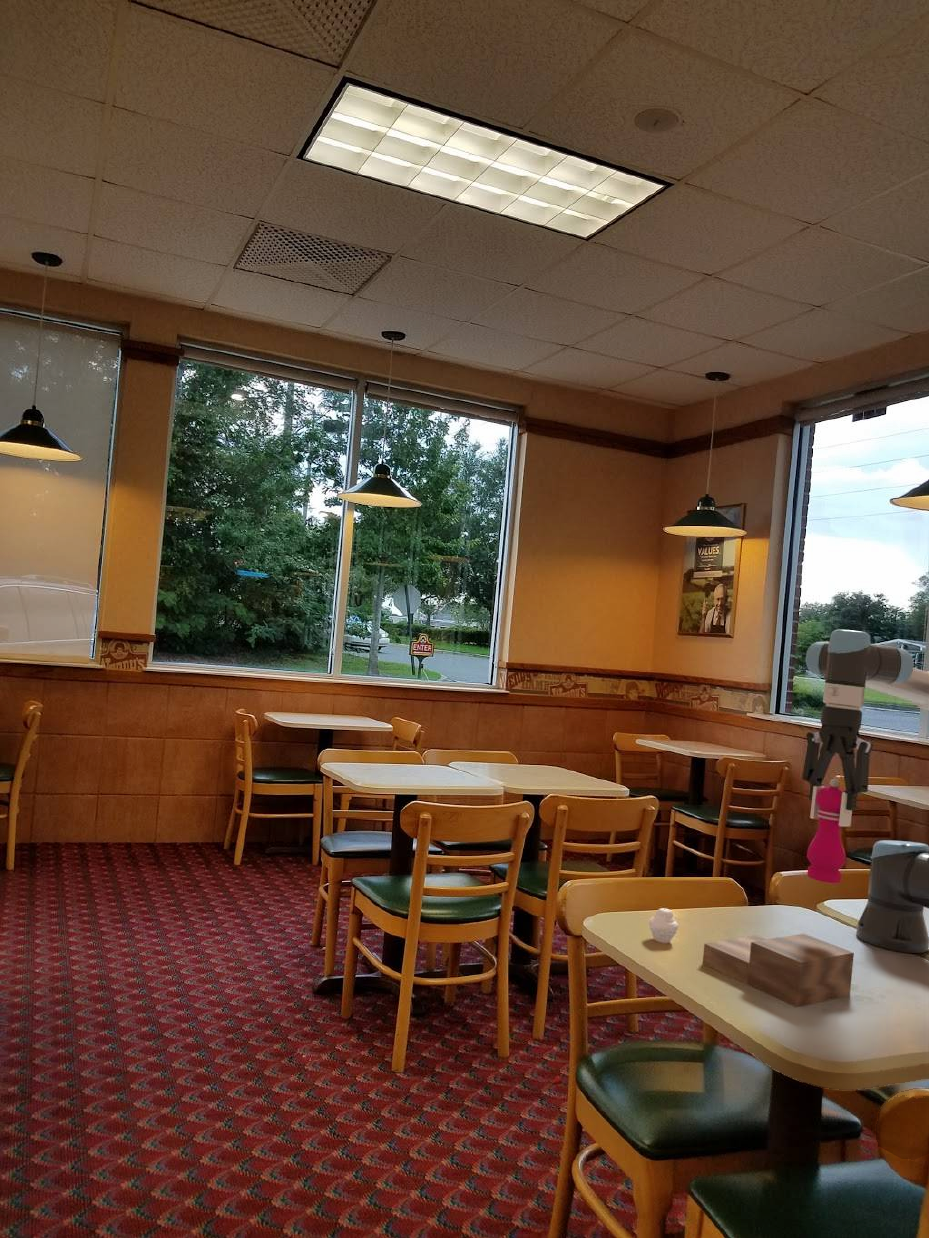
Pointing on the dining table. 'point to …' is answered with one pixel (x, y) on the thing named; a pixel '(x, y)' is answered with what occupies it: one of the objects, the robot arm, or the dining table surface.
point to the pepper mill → (827, 837)
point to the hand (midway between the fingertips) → (829, 821)
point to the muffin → (663, 925)
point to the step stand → (785, 966)
